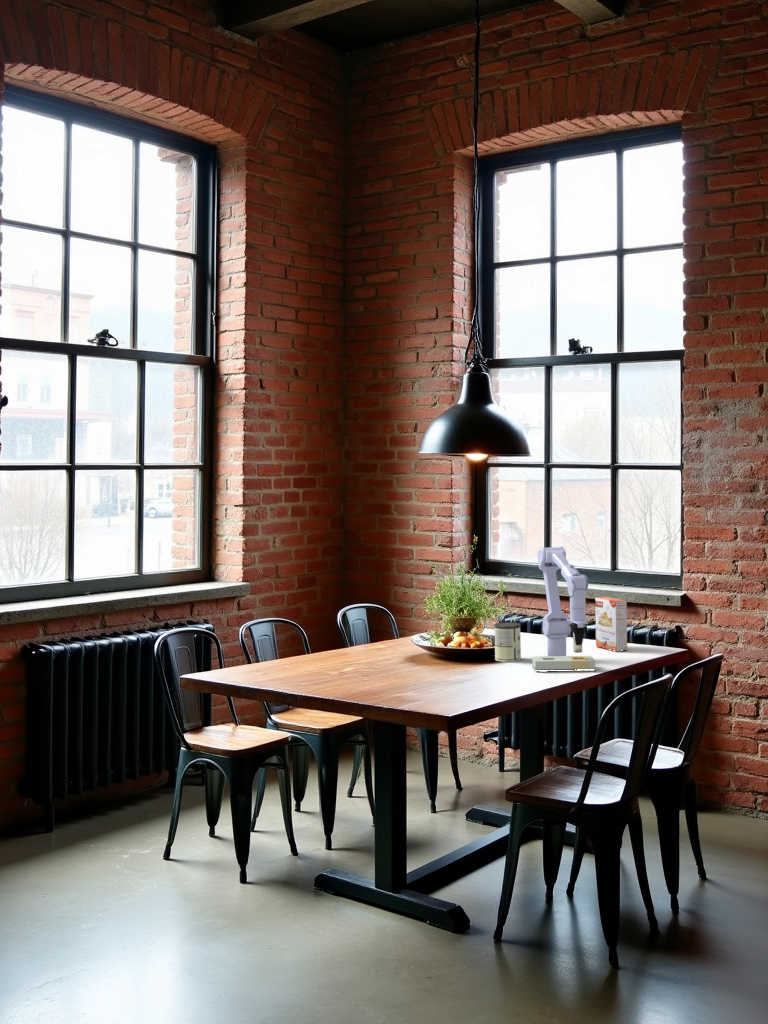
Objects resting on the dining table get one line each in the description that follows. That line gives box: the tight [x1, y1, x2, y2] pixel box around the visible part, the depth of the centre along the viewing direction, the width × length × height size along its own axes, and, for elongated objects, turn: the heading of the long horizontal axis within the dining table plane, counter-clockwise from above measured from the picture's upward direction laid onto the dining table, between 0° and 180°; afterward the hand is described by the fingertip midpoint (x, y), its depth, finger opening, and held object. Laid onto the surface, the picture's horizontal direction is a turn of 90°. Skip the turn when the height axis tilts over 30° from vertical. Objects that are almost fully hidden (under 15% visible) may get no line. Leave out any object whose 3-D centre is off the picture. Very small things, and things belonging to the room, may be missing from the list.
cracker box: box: [594, 596, 628, 652], centre depth 445 cm, size 14×6×21 cm, turn 25°
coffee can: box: [493, 621, 522, 663], centre depth 426 cm, size 10×10×14 cm
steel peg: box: [572, 632, 583, 654], centre depth 404 cm, size 3×3×8 cm
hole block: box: [532, 655, 596, 671], centre depth 405 cm, size 10×22×4 cm, turn 88°
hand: (578, 644), depth 404 cm, fingers closed on steel peg, 3 cm apart
